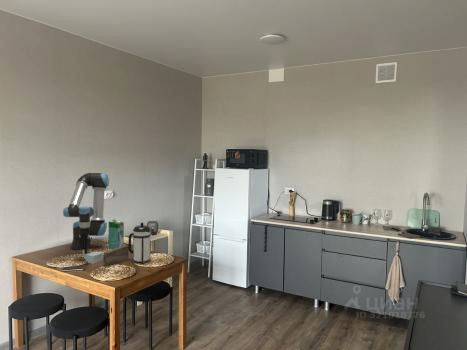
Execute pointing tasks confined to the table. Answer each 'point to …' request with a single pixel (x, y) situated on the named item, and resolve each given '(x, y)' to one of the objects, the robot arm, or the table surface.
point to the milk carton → (115, 234)
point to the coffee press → (140, 243)
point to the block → (94, 257)
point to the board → (115, 255)
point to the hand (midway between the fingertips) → (84, 257)
